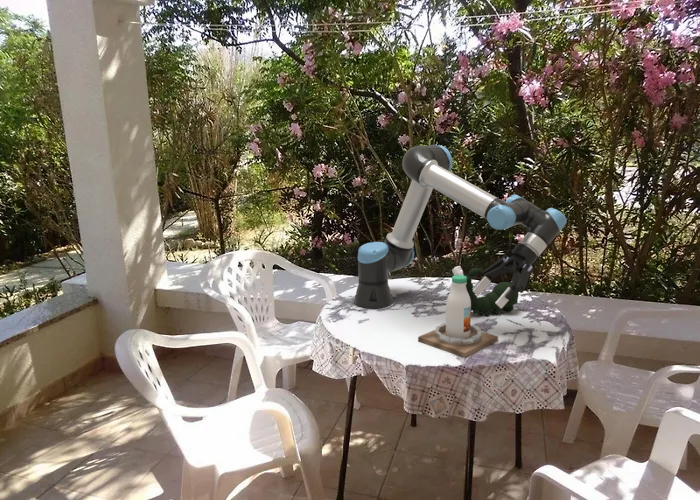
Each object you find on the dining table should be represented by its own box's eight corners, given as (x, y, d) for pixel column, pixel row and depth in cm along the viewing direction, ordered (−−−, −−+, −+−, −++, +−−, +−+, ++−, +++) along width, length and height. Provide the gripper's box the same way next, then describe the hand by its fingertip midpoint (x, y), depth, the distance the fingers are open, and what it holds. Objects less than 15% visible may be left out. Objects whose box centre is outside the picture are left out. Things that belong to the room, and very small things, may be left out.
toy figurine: (470, 324, 187) (531, 311, 193) (467, 274, 182) (530, 261, 188) (458, 316, 196) (516, 303, 202) (455, 267, 191) (515, 256, 197)
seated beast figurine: (465, 299, 210) (466, 270, 208) (444, 296, 214) (445, 267, 212) (472, 292, 218) (473, 264, 216) (452, 289, 222) (453, 262, 220)
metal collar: (426, 336, 168) (426, 330, 168) (453, 325, 178) (453, 319, 178) (463, 349, 158) (463, 343, 158) (489, 336, 168) (490, 330, 167)
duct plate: (418, 341, 169) (418, 336, 169) (451, 326, 181) (451, 322, 180) (464, 357, 156) (464, 352, 156) (497, 340, 168) (497, 336, 168)
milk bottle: (455, 343, 163) (457, 281, 159) (440, 334, 170) (441, 275, 165) (475, 338, 166) (477, 277, 162) (459, 330, 173) (461, 272, 169)
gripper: (560, 265, 159) (516, 318, 158) (512, 249, 182) (473, 295, 181) (547, 250, 156) (501, 304, 155) (499, 235, 180) (459, 282, 179)
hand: (486, 299), depth 168 cm, fingers open, 13 cm apart
